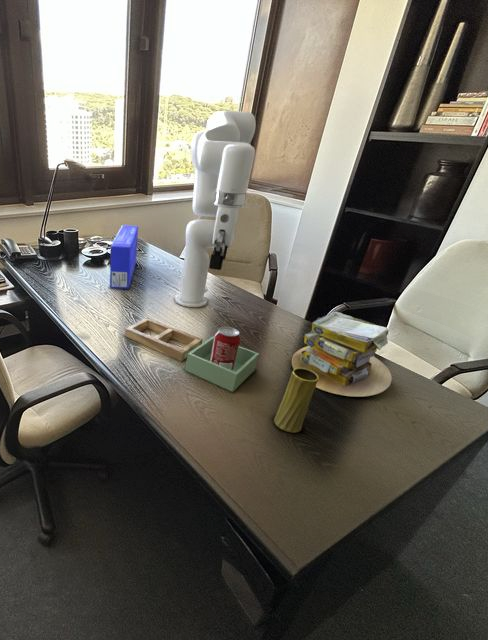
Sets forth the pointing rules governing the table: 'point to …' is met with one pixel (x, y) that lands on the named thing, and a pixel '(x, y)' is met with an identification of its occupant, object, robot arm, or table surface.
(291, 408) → the vase
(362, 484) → the table surface
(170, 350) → the caddy
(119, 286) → the blue box
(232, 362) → the soda can
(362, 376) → the stacked boxes on plate
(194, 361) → the bin
